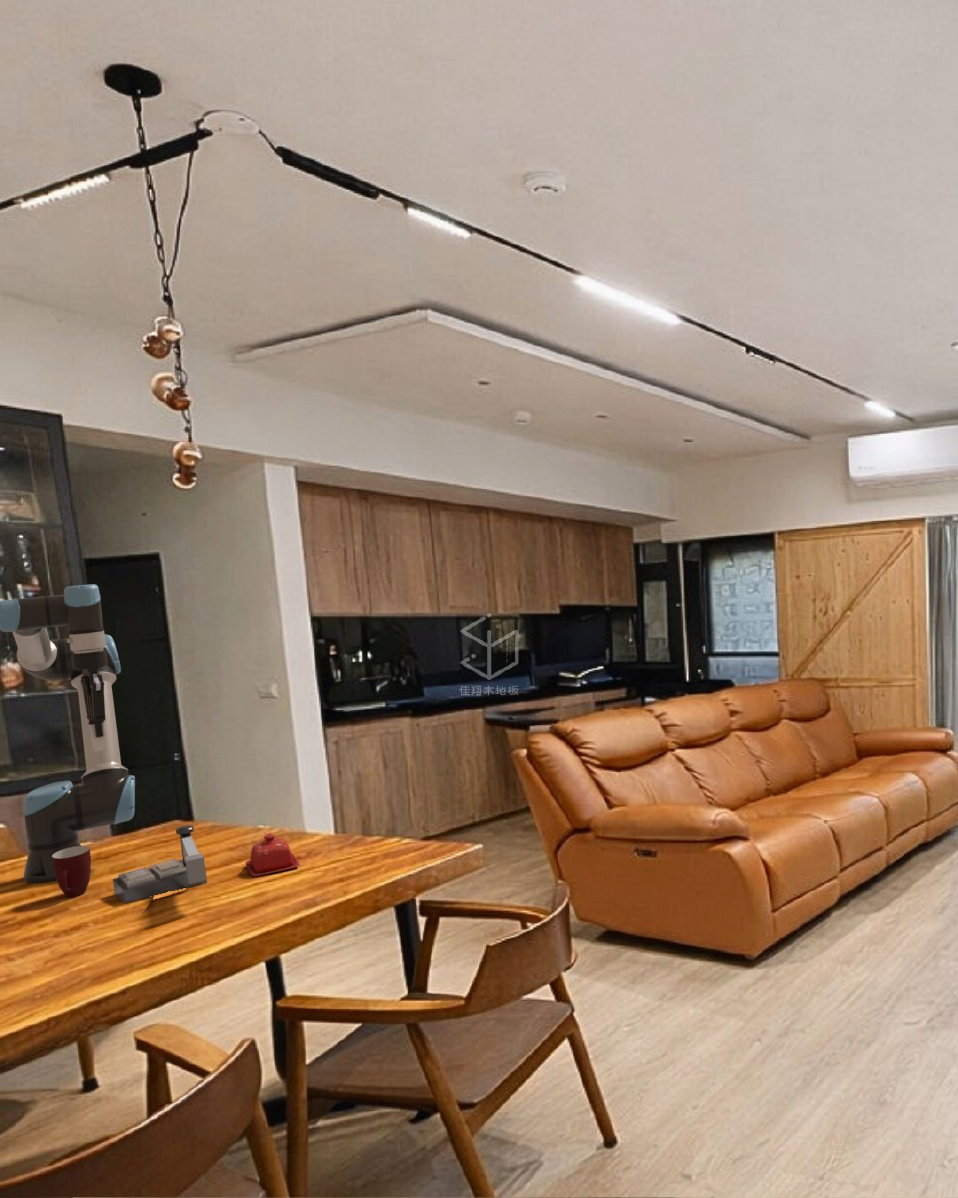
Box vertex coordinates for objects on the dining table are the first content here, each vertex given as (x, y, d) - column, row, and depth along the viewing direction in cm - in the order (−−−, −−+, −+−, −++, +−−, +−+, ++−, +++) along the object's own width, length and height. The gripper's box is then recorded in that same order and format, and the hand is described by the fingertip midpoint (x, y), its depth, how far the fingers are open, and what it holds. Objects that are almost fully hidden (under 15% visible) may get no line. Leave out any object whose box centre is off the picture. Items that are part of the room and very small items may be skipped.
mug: (88, 902, 194) (82, 858, 194) (49, 908, 193) (44, 864, 192) (98, 884, 205) (93, 843, 204) (61, 890, 203) (56, 849, 202)
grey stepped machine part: (114, 896, 196) (108, 843, 195) (193, 873, 207) (187, 822, 206) (126, 909, 188) (119, 853, 187) (207, 884, 199) (201, 831, 198)
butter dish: (302, 870, 203) (298, 835, 203) (252, 882, 199) (249, 846, 198) (291, 856, 214) (287, 822, 213) (244, 867, 209) (240, 832, 208)
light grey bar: (180, 860, 199) (178, 839, 199) (196, 856, 200) (194, 835, 200) (189, 883, 184) (186, 861, 183) (206, 879, 185) (204, 857, 185)
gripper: (65, 651, 203) (76, 749, 205) (76, 654, 193) (89, 757, 194) (99, 647, 208) (110, 743, 209) (112, 649, 197) (123, 750, 199)
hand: (99, 750), depth 202 cm, fingers closed
